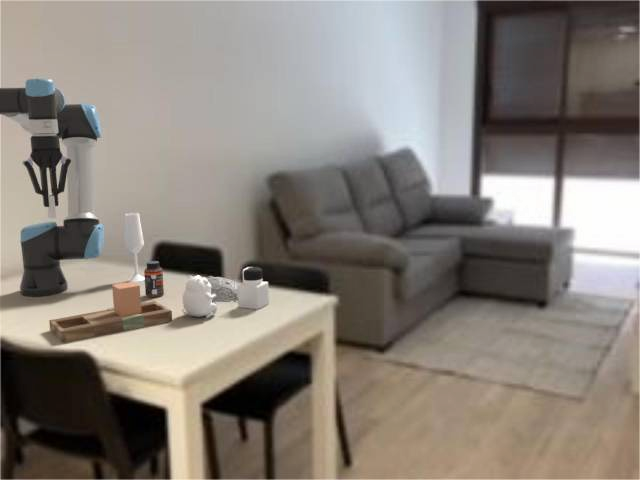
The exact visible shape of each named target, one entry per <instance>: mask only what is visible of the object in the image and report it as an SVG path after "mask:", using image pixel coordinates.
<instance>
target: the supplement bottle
mask: <svg viewBox="0 0 640 480" xmlns="http://www.w3.org/2000/svg"><path fill="white" fill-rule="evenodd" d="M143 271H144V276H143V277H145V280H144V285H145V287H144V288H145V289H144V292H145V296H146V297H149V298H158V297H162V296H163V295H164V294H165V293H164V291H165V290H164V272H163V268H162V267H161V266H160V262H159V261H157V260H151V261H147V262H146V268H145V269H144V270H143Z"/></svg>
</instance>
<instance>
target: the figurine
mask: <svg viewBox="0 0 640 480" xmlns="http://www.w3.org/2000/svg"><path fill="white" fill-rule="evenodd" d="M207 278H208V277H205V276H204V277H203V276H201V275H199V274H197V275H195V276H193V275H189V279H188V280H187V282H186V283H185V290H184V292H183V294H182V304H183V305H182V307H183V309H181V312H182V314H185V315H190V316H192V317H196V318H197V317H198V318H200V317H204V316H208V315H210V314H211V313H212V315H216V313H217V309H218V306H217V304H216V303H215V302H212V299H213V298H214V297H217V296H216V295H215V294H211V284H210V283H209V282H208V280H207ZM184 310H185V311H184Z"/></svg>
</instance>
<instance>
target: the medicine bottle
mask: <svg viewBox="0 0 640 480" xmlns="http://www.w3.org/2000/svg"><path fill="white" fill-rule="evenodd" d="M238 284H239V285H238V286H237V288H238V301H237V306H238V308H241V309H249V310H250V309H251V310H259V309H261V308H264V307H265V306H267V305H268V304H270V300H269V297H270V296H269V295H270V293H269V281H264V279H263V269H262V267H258V266H247V267H246V268H243V269H242V283H238Z"/></svg>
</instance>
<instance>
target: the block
mask: <svg viewBox="0 0 640 480" xmlns="http://www.w3.org/2000/svg"><path fill="white" fill-rule="evenodd" d="M111 288H112V298H113V299H112V301H113V308H114V312H116V313H117V314H118V315H120V316H126V315H131V314H137V313H142V312H141V304H142V301H141V286H140V285H139V284H138V283H137V282H130V281H128V282H121V283H116V284H112V285H111Z"/></svg>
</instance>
